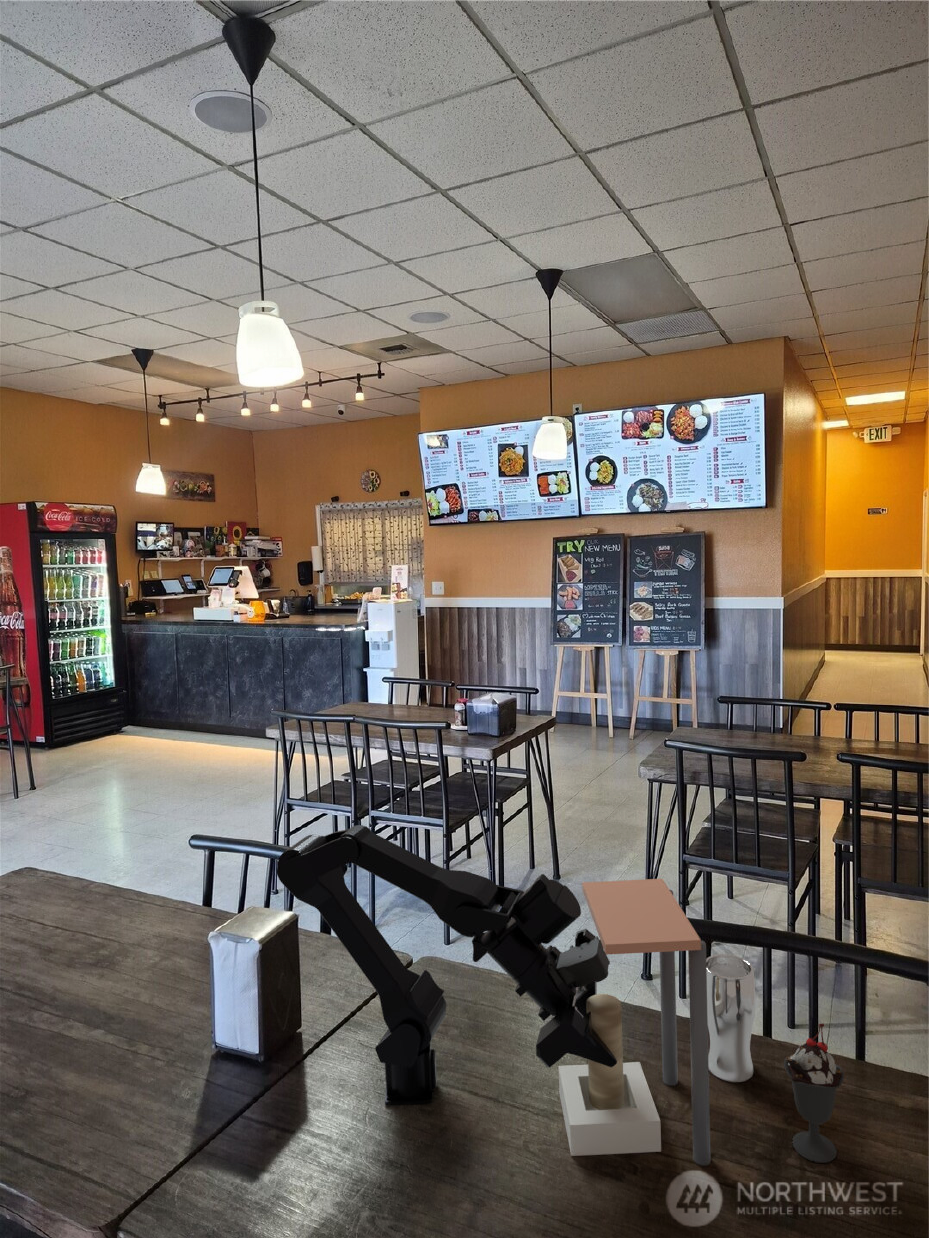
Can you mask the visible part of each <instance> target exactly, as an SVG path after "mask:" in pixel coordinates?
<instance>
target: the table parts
mask: <svg viewBox="0 0 929 1238" xmlns="http://www.w3.org/2000/svg"><path fill="white" fill-rule="evenodd" d="M581 883H582V884H581V885H582V886H581V888H582V894H583V896H584V900H585V902H586V905H587V907H588V910H589V912H590V915H591V918H592V922H593V923H594V926H595V929H596V932H597V934H598V935H597V936H598V938H599V940H601V943H602V946H603V949H604V951H605V954H606V955H607V956H609V955H623V954H627V955H628V954H641V953H642V954H644V953H659V980H660V986H659V987H660V988H659V989H660V1017H661V1018H660V1019H661V1020H660V1021H661V1023H660V1024H661V1025H660V1026H661V1027H660V1028H661V1059H662V1060H661V1061H662V1066H661V1067H662V1082H663V1083H664V1084H665V1085H667V1086H670V1087H671V1086H676V1085H677V1084H678V1082H679V1081H678V1079H679V1077H678V1075H679V1073H678V1039H677V1038H678V1033H677V998H676V997H677V994H676V993H677V991H676V989H677V988H676V954H675V952H684V951H685V952H687V951H688V987H689V988H688V991H689V998H688V999H689V1031H690V1033H689V1034H690V1035H689V1037H690V1043H689V1044H690V1076H691V1077H690V1080H691V1117H692V1118H691V1119H692V1120H691V1123H692V1124H691V1127H692V1160H693V1162H695V1164H696V1165H698V1166H703V1167H705V1166H708V1165H710V1164H711V1121H710V1120H711V1118H710V1114H711V1113H710V1079H709V1077H710V1076H709V1075H710V1074H709V1073H710V1072H709V1071H710V1070H709V1064H708V1056H709V1029H708V1016H707V968H706V959H707V943H706V942H705V941H704V940H701V937H700V936H699V935H698V933H697V931H696V930H695V928H694V927H693V925H692V923H691V922H690V920H689V919H688V917H687V916H686V914H685V912H684V910H683V909H682V908H681V906H680V904H679V903H678V901H677V900H676V898H675V896H674V891H673V890H672V889H669V887H668V885H667V883H666V882H665V881H664V879H663V878H649V879H629V880H627V879H626V880H608V881H588V882H587V881H586V882H585V881H582V882H581ZM558 1085H559V1086H558V1088H559V1089H558V1091H559V1098H560V1104H561V1108H562V1109H561V1110H562V1114H563V1119H564V1126H565V1131H566V1135H567V1139H568V1140H567V1141H568V1147H569V1150H570V1151H569V1152H570V1156H572V1157H577V1156H579V1157H580V1156H597V1155H615V1154H616V1155H619V1154H620V1155H621V1154H639V1153H656V1152H659V1153H660V1152H662V1140H661V1139H662V1135H661V1134H662V1133H661V1132H662V1131H661V1130H662V1129H661V1118H660V1115H659V1113H658V1110H657V1108H656V1104H655V1102H654V1099H653V1096H652V1094H651V1091H650V1088H649V1085H648V1083H647V1079H646V1077H645V1074H644V1071H643V1067H642V1065H641V1062H640V1061H634V1062H633V1061H632V1062H623V1085H624V1104H623V1106H622V1108H620V1109H612V1110H597V1109H596V1108H594V1107H593V1106H592V1105H591V1103H590V1101H589V1075H588V1064H573V1065H558Z"/></svg>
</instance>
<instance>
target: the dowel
mask: <svg viewBox="0 0 929 1238" xmlns="http://www.w3.org/2000/svg"><path fill="white" fill-rule="evenodd" d="M586 1009H587V1013H588V1012H591V1024H592V1028H593V1029H594V1031H595V1032H596V1033H597V1035H598V1036H599V1037H600V1038H601V1040H602V1041H603V1042H604V1043H605V1045H606V1046H607V1047H608V1048H609V1050H610V1051H611V1052H612V1054H613V1055H614V1057H615V1058H616V1060H617V1064H616V1065H614V1066H613V1067H608V1066H606V1065H603V1064H600V1063H597V1062H594V1061H591V1060H589V1059H587V1065H588V1075H589V1101H590V1103H591V1105H592V1106H593V1107H594V1108H596V1109H597V1110H612V1109H620V1108H622V1106H623V1104H624V1085H623V1063H624V1055H623V1053H624V1052H623V1047H624V1046H623V1020H622V1019H623V1016H622V1014H623V1013H622V1002H621V1000H620V999H619V998H618V997H616V996H614V995H611V994H608V993H607V994H605V993H597V995H593V996H591V997H589V998H588V999H587V1002H586Z"/></svg>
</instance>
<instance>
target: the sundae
mask: <svg viewBox="0 0 929 1238" xmlns="http://www.w3.org/2000/svg"><path fill="white" fill-rule="evenodd" d="M823 1027H825V1024H824V1023H818V1032H817V1034H816V1035H815V1036H814V1037H813V1038H811V1037H809V1038H807V1039H806V1042H805V1043H804V1044H801V1045H799V1046H798V1048H797V1049H796V1051H795V1053H794V1054H793V1053H792V1054H791V1055H788V1056H787V1057H785V1059H784V1060H783V1066H784V1068H785V1071H786V1073H787V1074H788V1075H787V1076H788V1077H789V1078H790V1079H791V1085H792V1092H793V1097H794V1102H795V1105H796V1110H797V1112H798V1113H799V1114H800V1115H801V1117H802V1118H803V1119H804V1120H806V1121H807V1122H808V1131H807V1130H806V1131H800V1132H798V1133H796V1134H795V1135H793V1138H792V1140H793V1141H792V1140H791V1141H792V1143H793V1144H792V1147H793V1148H795V1149H794V1150H795V1151H796V1152H797V1154H799V1155H800V1156H801V1157H803V1159H806V1160H808V1161H810V1162H813V1161H814V1162H813V1163H820V1164H824V1163H830V1162H831V1161H833V1160H834V1159H836V1157H837V1152H838V1151H837V1147H836V1146H835V1144H834V1143H833V1141H831V1140H830V1139H829V1138H828V1137H826V1136H825V1135H823V1134H820V1125H823V1124H825V1123H827V1122H828V1121H829V1120H830V1119H831V1118H832V1115H833V1111H834V1107H835V1101H836V1096H837V1095H836V1094H837V1093H836V1092H837V1089H839V1088H840V1087H841V1086H842V1085H843V1082H844V1080H845V1074H844V1069H843V1068H842V1067H841V1066H840V1065H838V1063H836V1061H835V1059H834V1057H833V1056H832V1055H831V1053H829V1052H828V1048H829V1047H828V1045H827V1044H826V1043H825V1041H824V1034H823ZM820 1032H821V1033H820ZM819 1034H820V1035H821V1041H818V1042H817V1041H816V1038H817V1037H818V1035H819Z"/></svg>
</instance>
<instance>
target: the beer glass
mask: <svg viewBox="0 0 929 1238" xmlns="http://www.w3.org/2000/svg"><path fill="white" fill-rule="evenodd" d="M706 968H707V1016H708V1035H709V1050H708V1064H709V1071H710V1072H711V1074H712V1075H713V1076H715V1077H717V1078H718V1079H720V1080H723V1081H726V1082H731V1083H741V1082H742V1083H743V1082H746V1081H748V1080H749V1079H750V1078H752V1077H753V1074H754V1066H753V1061H752V1056H751V1055H752V1054H751V1038H752V1032H753V1026H754V1022H755V1021H754V1020H755V1015H756V1004H757V1003H756V984H755V975H754V974H755V973H754V967H753V965H752V963H751V962H750V961H748V960H746V959H744V958H743V957H741V956H737V955H733V954H726V953H725V954H724V953H720V954H719V953H718V954H713V955H710V956H708V957H706Z"/></svg>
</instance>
